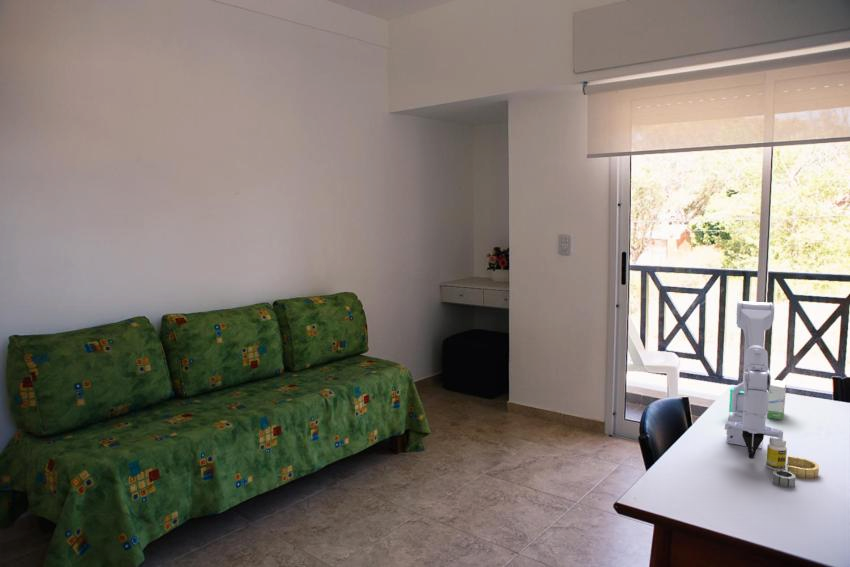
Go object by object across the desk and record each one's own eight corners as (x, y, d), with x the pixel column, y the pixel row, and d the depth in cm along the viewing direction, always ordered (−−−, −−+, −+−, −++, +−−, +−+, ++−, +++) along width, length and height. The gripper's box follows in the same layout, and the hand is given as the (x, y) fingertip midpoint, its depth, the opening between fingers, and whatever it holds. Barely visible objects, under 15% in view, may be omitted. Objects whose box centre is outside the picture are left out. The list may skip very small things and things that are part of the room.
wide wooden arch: (787, 475, 166) (787, 466, 166) (787, 464, 173) (787, 455, 172) (818, 481, 162) (819, 472, 162) (817, 469, 169) (818, 461, 169)
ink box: (782, 420, 207) (785, 387, 206) (766, 417, 210) (768, 384, 208) (784, 413, 214) (786, 380, 213) (768, 410, 217) (770, 378, 215)
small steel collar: (772, 484, 160) (772, 475, 160) (772, 477, 165) (773, 468, 164) (794, 489, 158) (795, 480, 157) (794, 481, 162) (795, 472, 162)
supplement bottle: (778, 472, 168) (780, 443, 167) (762, 465, 172) (764, 437, 171) (789, 468, 170) (791, 440, 169) (772, 462, 174) (774, 434, 173)
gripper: (725, 411, 172) (722, 456, 174) (784, 420, 165) (780, 468, 167) (727, 404, 178) (724, 448, 180) (784, 412, 171) (781, 458, 173)
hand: (751, 457), depth 174 cm, fingers closed
